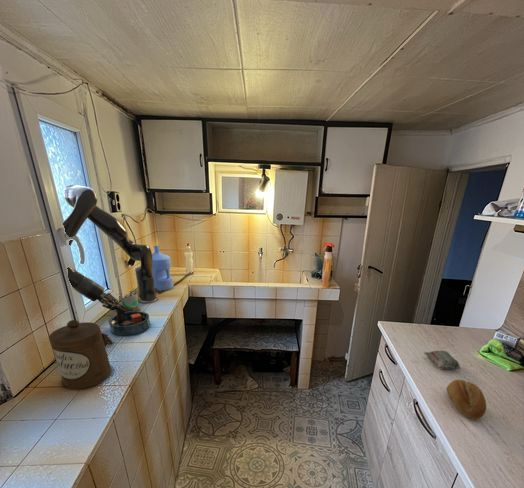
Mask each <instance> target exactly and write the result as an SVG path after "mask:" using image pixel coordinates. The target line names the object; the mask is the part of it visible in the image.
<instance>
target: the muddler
mask: <svg viewBox="0 0 524 488" xmlns="http://www.w3.org/2000/svg"><path fill="white" fill-rule="evenodd" d="M117 305H119V306H120V307H121V305H122V303H119V304H117ZM115 313H116V315H117V319H118V323H117V324H116V325H117V326H120V323H123V317H122V313H120V312H119V311H117V310H115Z"/></svg>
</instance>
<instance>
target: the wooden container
mask: <svg viewBox="0 0 524 488" xmlns="http://www.w3.org/2000/svg"><path fill="white" fill-rule="evenodd" d="M102 333H103V332H102V330H101V327H100V325H99V324H97V323H95V322H87V321H86V322H79V320H75V319H71V320H69V321H68V322H67V323H66V325H64V326H62V327H58V328H57V329H55V330H54V331H52V332H51V333H50V334H49V336H48V341H49V344H50V346H51V348H52V351H53V353H54V357H55V360H56V365H57V368H58V370H59V373H60V375H61V379H62V382H63V384H64V386H65V387H67V388H70V389H75V390H76V389H77V390H78V389H87V388H90V387H93V386H97V385H98V384H100V383H102V382H104V381H105V380H107V379H108V378H109V376H110V375H111V373H112V369H111V368H112V367H111V364H110V359H109V356H108V352H107V348H106V347H105V344H104V341H103V337H102Z"/></svg>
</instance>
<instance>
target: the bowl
mask: <svg viewBox="0 0 524 488" xmlns="http://www.w3.org/2000/svg"><path fill="white" fill-rule="evenodd" d="M137 313H139V314H140V315H141V316H142V321H143V322H140V323H138V324H133V325H129V326H117V325H116V324H117V323H118V319H117V314H115V315H114V316H112V317H110V318H109V319H108V326H109V330H110V332H111V333H113V334H114V335H117V336H133V335H137V334H141V333H143V332H144V331H146V330H147V329H148V328H149V327H150V326H151V319H150V315H149V314H148V313H147V312H145V311H141V310H140V311H139V310H138V311H132V312H125V313H124V314H122V317H123V322H125V321H131V322H132V320H131V315H133V314H137Z"/></svg>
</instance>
